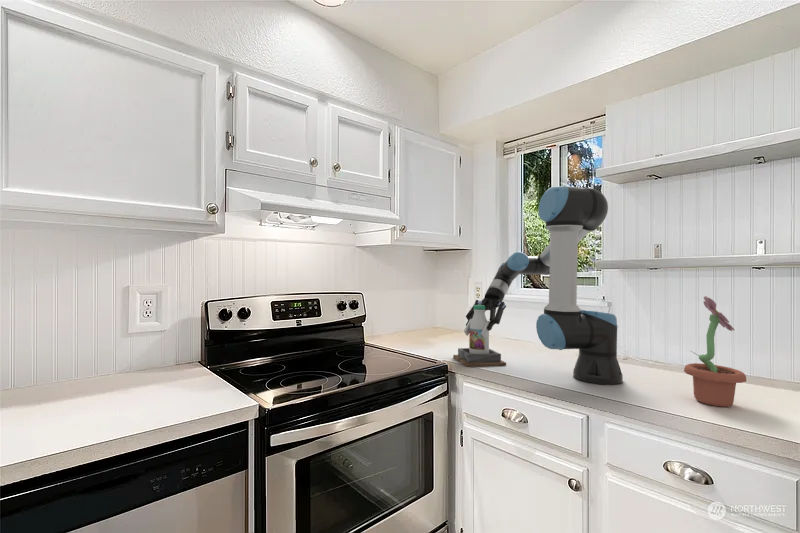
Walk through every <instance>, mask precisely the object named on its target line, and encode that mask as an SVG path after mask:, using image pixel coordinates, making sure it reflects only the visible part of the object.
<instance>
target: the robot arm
mask: <svg viewBox="0 0 800 533" xmlns="http://www.w3.org/2000/svg"><path fill="white" fill-rule="evenodd" d="M608 204H609V203H608V201H607V198H606V196H605V195H604V194H603V193H602V192H601V191H599V190H597V189H596V188H589V187H577V186H565V185H563V186H551V187H550V188H548V189H547V190H545V192H544V193H543V194H542V196H541V198H540V201H539V204H538V210H537V211H538V215H539V219H540V220H542V221H543V222H545V229H546V230H547V231H549V244H548V245H547V246H546V247H545V249H544V250H543V251H542V252H541V253H540V254H539V255H537V256H528V255H527V254H526V253H524V252H522V251H516V252H514V253H512V254H511V255H510V256H509V257H508V258H507V260H506V261H505V262H503V263H501V264H500V266H499V267H498V269H497V271H496V273H495V276H494V277H493V279H492V281H491V282H490V285H489V286H488V288H487V290H486V291H485V294H484V298H483V299H482V300H479V299H475V302H474V303H473V305H472V306H471V308H470V310H469V311H468V312H467V313H466V315H465V318H466V320H467V321H466V324H465V327H464V330H463V333H464V334H465V335H466V336H468V337H469V333H470V323H471V320H472V318H473V315H474V305H485V312H486V311H489V319H488V320H487V323H486V325H485V327H484V328H483V330H482V332H481V335H482V336H483V338H486V336H487V334H488V332H489V333H490V331H491V330H492V329H493V327H494V325H495V324H496V325H499V324H500V323H501V319H502V317H503V313H504V311H505V309H506V308H507V305H506V303H505V302H504V299H505V296H506V294H507V292H508V291H509V288H510V286H511V284H512V283H513V281H515V279H516V278H517V277H518V276H519V275H540V276H541V275H545V276H549V278H548V279H549V281H548V283H549V286H548V303H547V305H546V306H545V307H543V313H542V314H540V315H539V316H538V317H537V319H536V324H535V327H536V328H535V329H536V333H537V336H538V339H539V341H540V342H541V344H542V345H543V346H544V347H546V348H547V349H549V350H558V351H563V350H578V356H577V359H576V361H575V365H574V368H573V369H572V370H573V371H572V372H573V373H572V374H573V378H575V379H576V380H579V381H582V382H586V383H591V384H595V385H596V384H599V385H620V384H621V383H623V379H624V378H623V373H622V370H621V367H620V364H619V361H618V328H619V327H618V320H617V316H616V315H615V314H614V313H609V312H605V311H603V312H602V311H595V310H588V309H581V308H580V307H579V306H578V305H577V301H578V300H577V297H578V296H577V294H578V292H577V290H578V286H577V285H578V247H579V246H578V245H579V244H578V243H579V242H581V241H582V240H583V238H585V237H586V236H587V235H588V234H589V233H590V232H594V231H596V230H597V229H598V228H599V227H600V226H601V225H602V224H603V222H604V221H605V220H606V217H607V215H608V210H609V205H608Z"/></svg>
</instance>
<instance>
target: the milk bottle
mask: <svg viewBox="0 0 800 533" xmlns="http://www.w3.org/2000/svg"><path fill="white" fill-rule="evenodd" d="M473 305H474V304H473ZM485 313H486V311H485V305H474V315H473V318H472V320H471V323H470V333H469V334H468V337H469V340H468V342H469V344H468V345H469V346H468V348H469V354H489V349H490V331H489V332H488V334H487V336H486V338H483V336H482V335H481V332H482V330H483V328H484V327H485V325H486V323H487V321H488V319H487V316H486V314H485Z"/></svg>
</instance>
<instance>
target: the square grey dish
mask: <svg viewBox="0 0 800 533" xmlns="http://www.w3.org/2000/svg"><path fill="white" fill-rule="evenodd" d="M453 359H454V360H456V361H457V362H459V363H460V364H461V365H463V366H465V367H466V368H476V367H477V368H478V367H504V366H503V365H506V366H507V362H506V361H504V360H502V353H500V352H498V351H495V350H494V349H492V348H489V354H469V347H467V348H466V347H465V348H464V347H463V348H462V347H461V348H460V347H459V348H457V354H453Z"/></svg>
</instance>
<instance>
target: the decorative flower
mask: <svg viewBox="0 0 800 533" xmlns="http://www.w3.org/2000/svg"><path fill="white" fill-rule="evenodd" d="M703 305H704V307H705V308H706V309H708V311H710V312H711V313H710V315H709V317H708V318H709V325H708V328H707V331H706V334H705V335H706V353H705V354H700V355H699V354H698V353H696V352H694V351H692V350H690V352H691V353H692V354H694V355H697V356H698V359H699V361H700V362H702V363H696V362H694V363H688V364H686V365H685V366H684V367H683V368H684V369H683V372H684V373H685V374H687V375H689V376H692V385H693V388H692V389H693V395H694V398H695V400H696V401H698V402H700V403H702V404H705V405H709V406H713V407H721V408H722V407H723V408H729V407H731V406H733V404H734V401H735V395H736V394H735V393H736V387H737V384H742V383H746V382H747V375H746V374H745V372H743V371H741V370H740V369H739V370H738V369H735V368H732V367H728V366H722V365H717V364H714V363H713V361H711V360H713V359H714V357H715V354H716V352H715V351H716V350H715V348H716V347H715V336H716V330H717V327H718V326H719V325H720V326H722V328H725V329H726V330H728V331H731V332H733V331H735V328H734V327H733V326H732V325H731V324H730V321H729V320H728V318H727V317H726V316H725V315H724V314H723V312H720V311H718V310H717V303H716V301H715V300H714V299H712V298H711V297H708V296H703Z"/></svg>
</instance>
